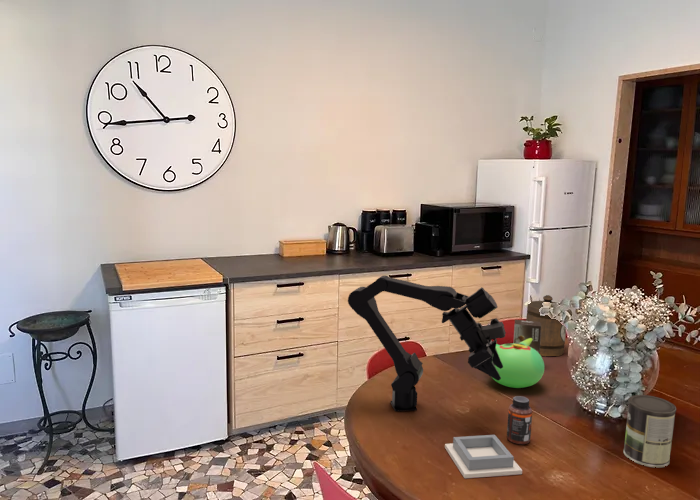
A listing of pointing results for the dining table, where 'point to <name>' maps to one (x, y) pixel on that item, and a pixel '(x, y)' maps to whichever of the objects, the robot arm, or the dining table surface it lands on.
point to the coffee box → (528, 333)
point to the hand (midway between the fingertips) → (500, 373)
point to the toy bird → (519, 364)
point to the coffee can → (649, 430)
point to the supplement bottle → (519, 421)
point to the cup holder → (482, 457)
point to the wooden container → (547, 329)
